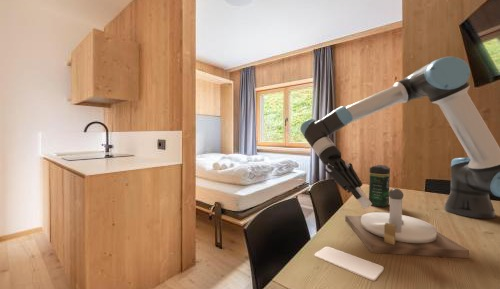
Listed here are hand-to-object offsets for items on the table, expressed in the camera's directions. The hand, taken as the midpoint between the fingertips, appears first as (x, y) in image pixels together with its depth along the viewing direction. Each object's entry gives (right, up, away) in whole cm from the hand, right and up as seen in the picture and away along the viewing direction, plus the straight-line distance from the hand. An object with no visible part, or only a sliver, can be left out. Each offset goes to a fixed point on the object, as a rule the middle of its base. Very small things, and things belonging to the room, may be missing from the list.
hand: (368, 206), depth 73 cm
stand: (+9, -9, 0) cm, 13 cm away
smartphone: (-13, -10, -15) cm, 23 cm away
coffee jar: (+23, -9, +34) cm, 42 cm away
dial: (+9, -7, 0) cm, 11 cm away
